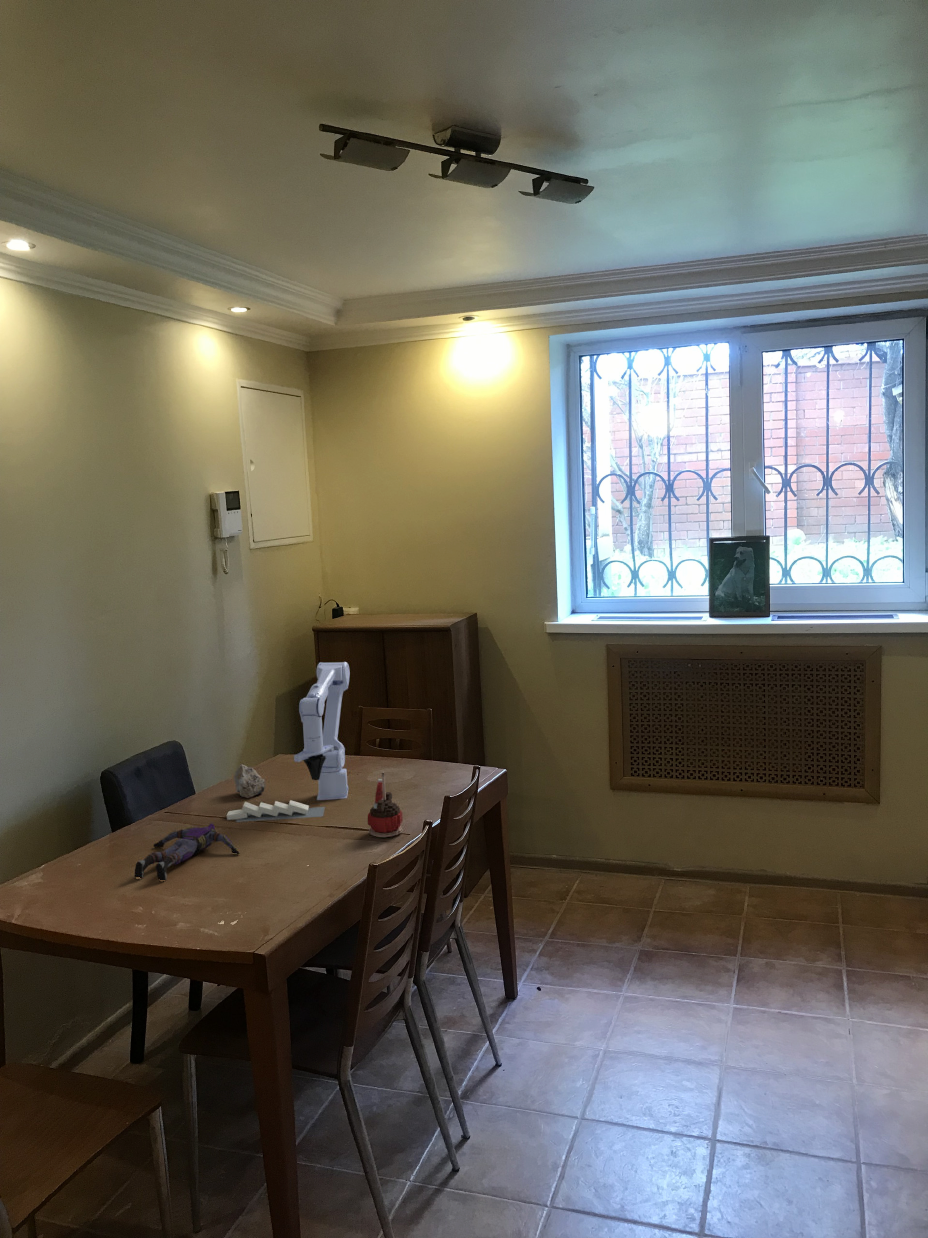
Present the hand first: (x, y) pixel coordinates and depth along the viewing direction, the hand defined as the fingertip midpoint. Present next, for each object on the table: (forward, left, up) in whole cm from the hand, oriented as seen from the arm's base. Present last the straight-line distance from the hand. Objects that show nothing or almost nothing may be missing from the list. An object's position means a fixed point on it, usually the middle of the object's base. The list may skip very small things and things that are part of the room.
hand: (315, 779), depth 296 cm
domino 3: (+12, +3, -9) cm, 15 cm away
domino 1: (+21, +3, -8) cm, 23 cm away
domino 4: (+7, +3, -9) cm, 12 cm away
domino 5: (+3, +3, -9) cm, 10 cm away
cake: (-21, +25, -10) cm, 34 cm away
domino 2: (+17, +3, -9) cm, 19 cm away
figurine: (+33, +35, -10) cm, 49 cm away
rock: (+24, -19, -10) cm, 32 cm away
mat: (+11, +3, -10) cm, 15 cm away
